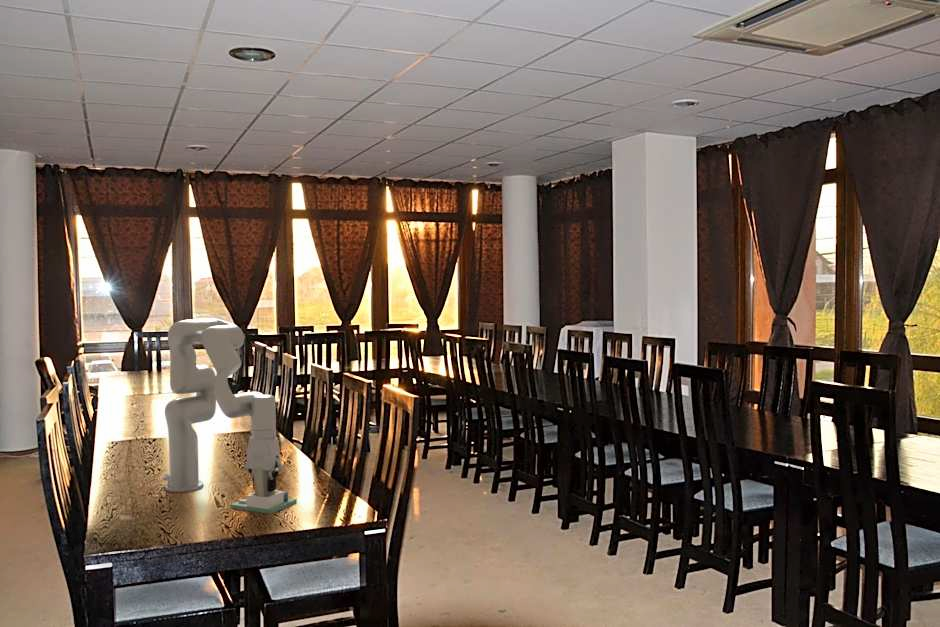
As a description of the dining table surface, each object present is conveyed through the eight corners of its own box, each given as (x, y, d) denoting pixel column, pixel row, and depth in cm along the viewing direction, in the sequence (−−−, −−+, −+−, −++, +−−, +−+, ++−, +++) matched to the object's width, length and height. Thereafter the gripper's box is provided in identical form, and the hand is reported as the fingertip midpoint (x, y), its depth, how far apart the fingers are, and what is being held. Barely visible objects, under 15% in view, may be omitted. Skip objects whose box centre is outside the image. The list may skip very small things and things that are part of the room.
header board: (230, 508, 260) (230, 496, 259) (256, 497, 271) (256, 486, 271) (272, 513, 253) (271, 502, 253) (296, 502, 265) (296, 491, 265)
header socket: (246, 506, 258) (246, 495, 257) (264, 498, 266) (263, 488, 265) (267, 509, 254) (267, 498, 254) (284, 501, 262) (284, 490, 262)
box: (266, 495, 263) (266, 461, 262) (275, 497, 260) (274, 463, 260) (253, 499, 259) (252, 464, 258) (262, 501, 256) (261, 467, 256)
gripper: (234, 433, 258) (235, 489, 259) (278, 438, 252) (279, 496, 253) (249, 429, 265) (250, 484, 266) (293, 433, 258) (293, 489, 260)
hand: (264, 489), depth 259 cm, fingers closed on box, 5 cm apart
